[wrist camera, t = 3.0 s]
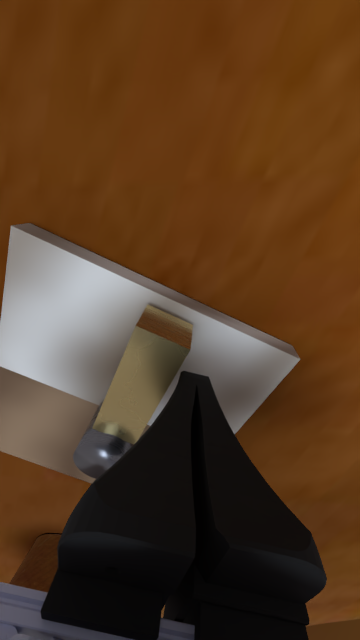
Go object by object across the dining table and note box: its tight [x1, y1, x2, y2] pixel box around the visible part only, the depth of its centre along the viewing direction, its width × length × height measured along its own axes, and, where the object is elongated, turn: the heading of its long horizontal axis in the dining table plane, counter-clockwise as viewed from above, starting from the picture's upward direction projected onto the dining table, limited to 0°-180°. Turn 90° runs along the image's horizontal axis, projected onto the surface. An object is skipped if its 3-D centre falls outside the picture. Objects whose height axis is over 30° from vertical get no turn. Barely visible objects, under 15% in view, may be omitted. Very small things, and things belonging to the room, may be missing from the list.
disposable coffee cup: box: [9, 534, 61, 593], centre depth 21 cm, size 10×10×12 cm
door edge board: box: [0, 223, 300, 484], centre depth 15 cm, size 14×16×1 cm
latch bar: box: [73, 304, 193, 479], centre depth 11 cm, size 9×3×3 cm, turn 155°
